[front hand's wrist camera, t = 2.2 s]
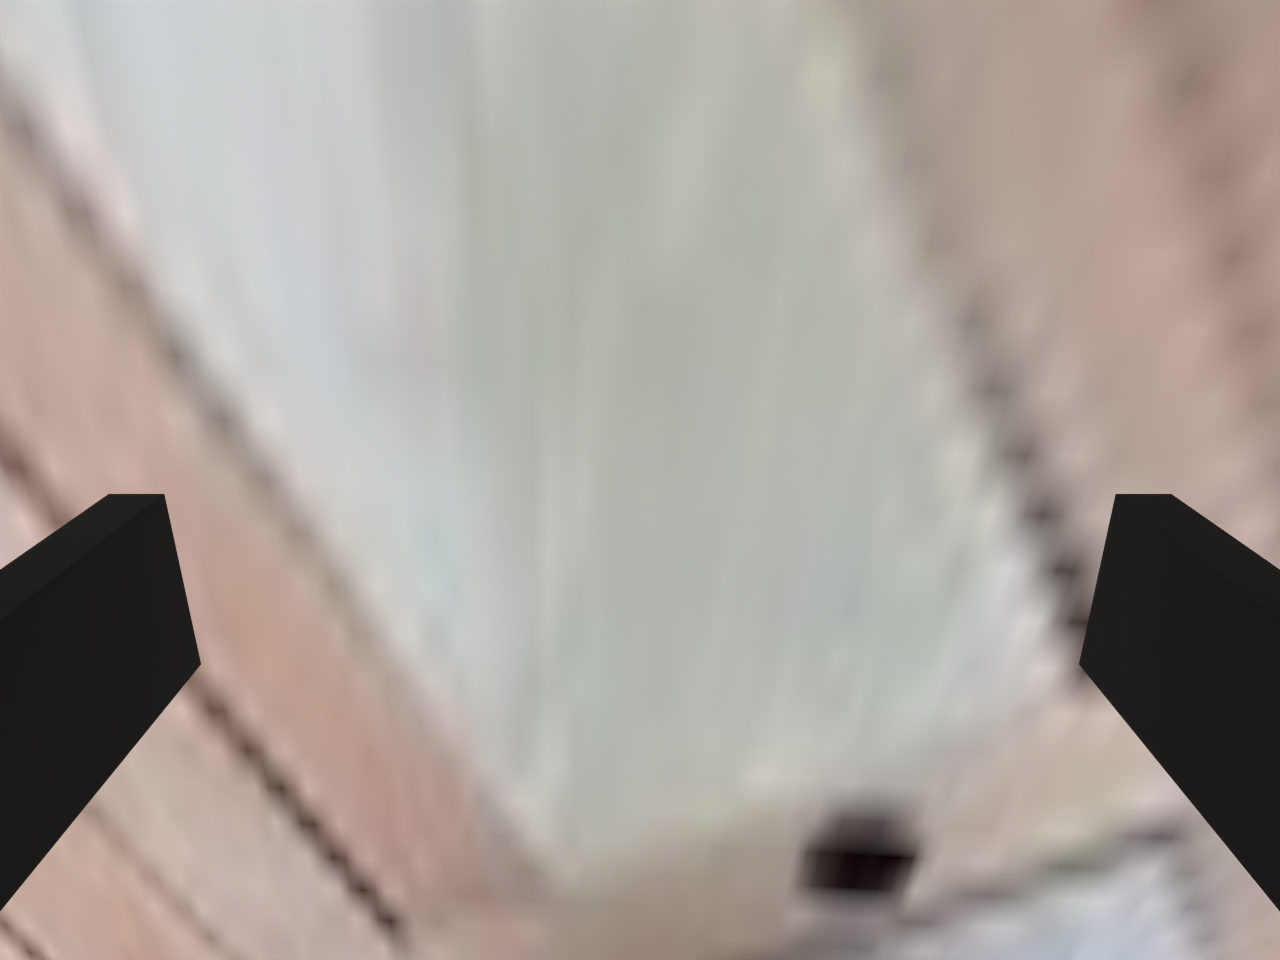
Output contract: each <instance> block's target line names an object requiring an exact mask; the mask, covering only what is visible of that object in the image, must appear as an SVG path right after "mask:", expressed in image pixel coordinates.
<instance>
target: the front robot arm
mask: <svg viewBox="0 0 1280 960" xmlns="http://www.w3.org/2000/svg"><path fill="white" fill-rule="evenodd" d="M200 665H201V662H200V657H199V653H198V648H197V644H196V639H195V634H194V630H193V625H192V620H191V616H190V611H189V606H188V602H187V597H186V593H185V588H184V583H183V579H182V574H181V569H180V565H179V560H178V555H177V551H176V546H175V542H174V537H173V532H172V528H171V523H170V518H169V514H168V509H167V504H166V500H165V495H164V494H108V495H107V496H105V497H104V498H102V499H101V500H100V501H98V502H97V503H95V504H94V505H92V506H91V507H89V508H88V509H87V510H85V511H84V512H82V513H81V514H79V515H78V516H77V517H75V518H74V519H72V520H71V521H69V522H68V523H67V524H65V525H64V526H62V527H61V528H59V529H58V530H56V531H55V532H54V533H52V534H51V535H49V536H48V537H46V538H45V539H44V540H42V541H41V542H39V543H38V544H36V545H35V546H33V547H32V548H31V549H29V550H28V551H26V552H25V553H23V554H22V555H21V556H19V557H18V558H16V559H15V560H13V561H12V562H11V563H9V564H8V565H6V566H5V567H3V568H2V569H0V911H1V910H2V908H3V907H4V906H5V905H6V903H7V902H8V901H9V900H10V899H11V897H12V896H13V895H14V894H15V892H16V891H17V890H18V889H19V887H20V886H21V885H22V884H23V883H24V881H25V880H26V879H27V878H28V876H29V875H30V874H31V873H32V871H33V870H34V869H35V868H36V867H37V865H38V864H39V863H40V862H41V860H42V859H43V858H44V857H45V855H46V854H47V853H48V852H49V851H50V849H51V848H52V847H53V846H54V844H55V843H56V842H57V841H58V839H59V838H60V837H61V836H62V835H63V833H64V832H65V831H66V830H67V828H68V827H69V826H70V825H71V824H72V822H73V821H74V820H75V819H76V817H77V816H78V815H79V814H80V812H81V811H82V810H83V809H84V808H85V806H86V805H87V804H88V803H89V801H90V800H91V799H92V798H93V796H94V795H95V794H96V793H97V792H98V790H99V789H100V788H101V787H102V785H103V784H104V783H105V782H106V780H107V779H108V778H109V777H110V776H111V774H112V773H113V772H114V771H115V769H116V768H117V767H118V766H119V764H120V763H121V762H122V761H123V760H124V758H125V757H126V756H127V755H128V753H129V752H130V751H131V750H132V748H133V747H134V746H135V745H136V744H137V742H138V741H139V740H140V739H141V737H142V736H143V735H144V734H145V732H146V731H147V730H148V729H149V728H150V726H151V725H152V724H153V723H154V721H155V720H156V719H157V718H158V716H159V715H160V714H161V713H162V712H163V710H164V709H165V708H166V707H167V705H168V704H169V703H170V702H171V700H172V699H173V698H174V697H175V696H176V694H177V693H178V692H179V691H180V689H181V688H182V687H183V686H184V684H185V683H186V682H187V681H188V680H189V678H190V677H191V676H192V675H193V673H194V672H195V671H196V670H197V668H198V667H199V666H200ZM1079 665H1080V666H1081V667H1082V668H1083V670H1084V671H1085V672H1086V673H1087V675H1088V676H1089V677H1090V678H1091V680H1092V681H1093V682H1094V683H1095V684H1096V686H1097V687H1098V688H1099V689H1100V691H1101V692H1102V693H1103V694H1104V696H1105V697H1106V698H1107V699H1108V700H1109V702H1110V703H1111V704H1112V705H1113V707H1114V708H1115V709H1116V710H1117V712H1118V713H1119V714H1120V715H1121V716H1122V718H1123V719H1124V720H1125V721H1126V723H1127V724H1128V725H1129V726H1130V728H1131V729H1132V730H1133V731H1134V732H1135V734H1136V735H1137V736H1138V737H1139V739H1140V740H1141V741H1142V742H1143V744H1144V745H1145V746H1146V747H1147V748H1148V750H1149V751H1150V752H1151V753H1152V755H1153V756H1154V757H1155V758H1156V760H1157V761H1158V762H1159V763H1160V764H1161V766H1162V767H1163V768H1164V769H1165V771H1166V772H1167V773H1168V774H1169V776H1170V777H1171V778H1172V779H1173V780H1174V782H1175V783H1176V784H1177V785H1178V787H1179V788H1180V789H1181V790H1182V792H1183V793H1184V794H1185V795H1186V796H1187V798H1188V799H1189V800H1190V801H1191V803H1192V804H1193V805H1194V806H1195V808H1196V809H1197V810H1198V811H1199V812H1200V814H1201V815H1202V816H1203V817H1204V819H1205V820H1206V821H1207V822H1208V824H1209V825H1210V826H1211V827H1212V828H1213V830H1214V831H1215V832H1216V833H1217V835H1218V836H1219V837H1220V838H1221V839H1222V841H1223V842H1224V843H1225V844H1226V846H1227V847H1228V848H1229V849H1230V851H1231V852H1232V853H1233V854H1234V855H1235V857H1236V858H1237V859H1238V860H1239V862H1240V863H1241V864H1242V865H1243V867H1244V868H1245V869H1246V870H1247V871H1248V873H1249V874H1250V875H1251V876H1252V878H1253V879H1254V880H1255V881H1256V883H1257V884H1258V885H1259V886H1260V887H1261V889H1262V890H1263V891H1264V892H1265V894H1266V895H1267V896H1268V897H1269V899H1270V900H1271V901H1272V902H1273V903H1274V905H1275V906H1276V907H1277V908H1278V910H1279V911H1280V569H1278V568H1277V567H1275V566H1274V565H1272V564H1271V563H1269V562H1268V561H1267V560H1265V559H1264V558H1262V557H1261V556H1259V555H1258V554H1257V553H1255V552H1254V551H1252V550H1251V549H1249V548H1248V547H1247V546H1245V545H1244V544H1242V543H1241V542H1239V541H1238V540H1236V539H1235V538H1234V537H1232V536H1231V535H1229V534H1228V533H1226V532H1225V531H1224V530H1222V529H1221V528H1219V527H1218V526H1216V525H1215V524H1213V523H1212V522H1211V521H1209V520H1208V519H1206V518H1205V517H1203V516H1202V515H1201V514H1199V513H1198V512H1196V511H1195V510H1193V509H1192V508H1191V507H1189V506H1188V505H1186V504H1185V503H1183V502H1182V501H1180V500H1179V499H1178V498H1176V497H1175V496H1173V495H1172V494H1116V495H1115V500H1114V504H1113V509H1112V514H1111V518H1110V523H1109V528H1108V532H1107V537H1106V542H1105V546H1104V551H1103V555H1102V560H1101V565H1100V569H1099V574H1098V579H1097V583H1096V588H1095V593H1094V597H1093V602H1092V606H1091V611H1090V616H1089V620H1088V625H1087V630H1086V634H1085V639H1084V644H1083V648H1082V653H1081V657H1080V662H1079Z"/></svg>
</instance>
